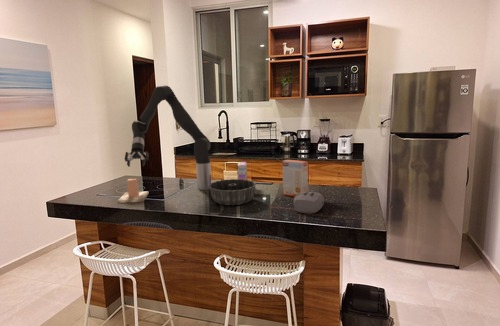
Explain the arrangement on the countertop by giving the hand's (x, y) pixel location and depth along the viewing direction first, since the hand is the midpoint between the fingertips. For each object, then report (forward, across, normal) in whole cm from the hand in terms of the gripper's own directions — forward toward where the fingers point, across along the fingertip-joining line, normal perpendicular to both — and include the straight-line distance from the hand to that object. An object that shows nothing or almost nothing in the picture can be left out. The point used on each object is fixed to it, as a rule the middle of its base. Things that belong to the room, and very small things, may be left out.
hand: (135, 165), depth 200 cm
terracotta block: (+20, 0, +3) cm, 20 cm away
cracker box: (+33, +95, -8) cm, 101 cm away
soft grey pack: (+50, +96, -24) cm, 110 cm away
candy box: (+15, +67, +11) cm, 69 cm away
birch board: (+21, 0, +4) cm, 21 cm away
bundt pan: (+35, +58, -10) cm, 68 cm away
